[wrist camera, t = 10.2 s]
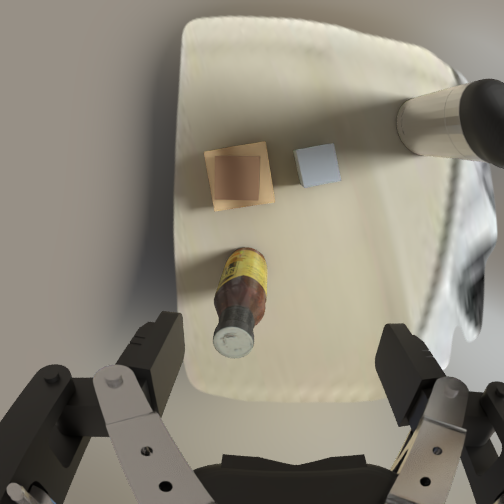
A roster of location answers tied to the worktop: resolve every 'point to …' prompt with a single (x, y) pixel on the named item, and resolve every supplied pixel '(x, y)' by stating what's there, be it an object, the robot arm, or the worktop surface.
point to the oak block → (265, 175)
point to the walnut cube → (237, 178)
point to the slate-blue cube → (317, 165)
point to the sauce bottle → (240, 302)
